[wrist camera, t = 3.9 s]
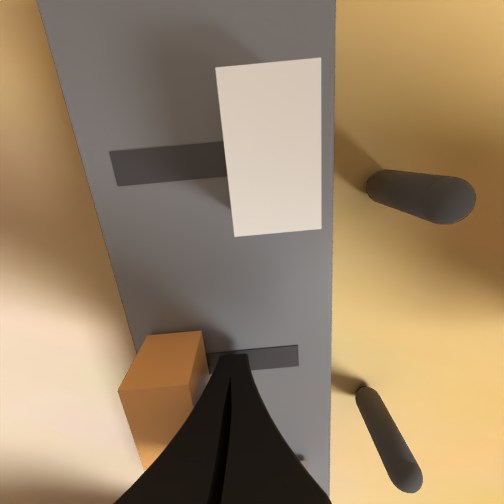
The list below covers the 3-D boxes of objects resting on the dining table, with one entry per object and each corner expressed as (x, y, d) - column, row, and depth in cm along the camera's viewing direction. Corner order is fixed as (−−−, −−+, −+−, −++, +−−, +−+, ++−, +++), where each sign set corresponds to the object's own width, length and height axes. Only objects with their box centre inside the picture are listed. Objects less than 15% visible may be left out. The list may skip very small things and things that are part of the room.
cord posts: (393, 167, 14) (494, 176, 8) (374, 398, 19) (427, 499, 14) (362, 170, 14) (441, 181, 8) (351, 400, 19) (395, 502, 14)
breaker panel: (307, 28, 12) (336, -31, 8) (314, 463, 21) (329, 530, 18) (101, 47, 12) (35, -2, 8) (199, 473, 21) (189, 542, 18)
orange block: (201, 330, 12) (188, 384, 9) (213, 398, 13) (205, 464, 11) (147, 335, 12) (117, 390, 9) (165, 403, 13) (144, 469, 11)
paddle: (297, 87, 9) (321, 57, 6) (300, 208, 10) (321, 229, 8) (224, 94, 9) (214, 67, 6) (237, 214, 10) (234, 237, 8)
